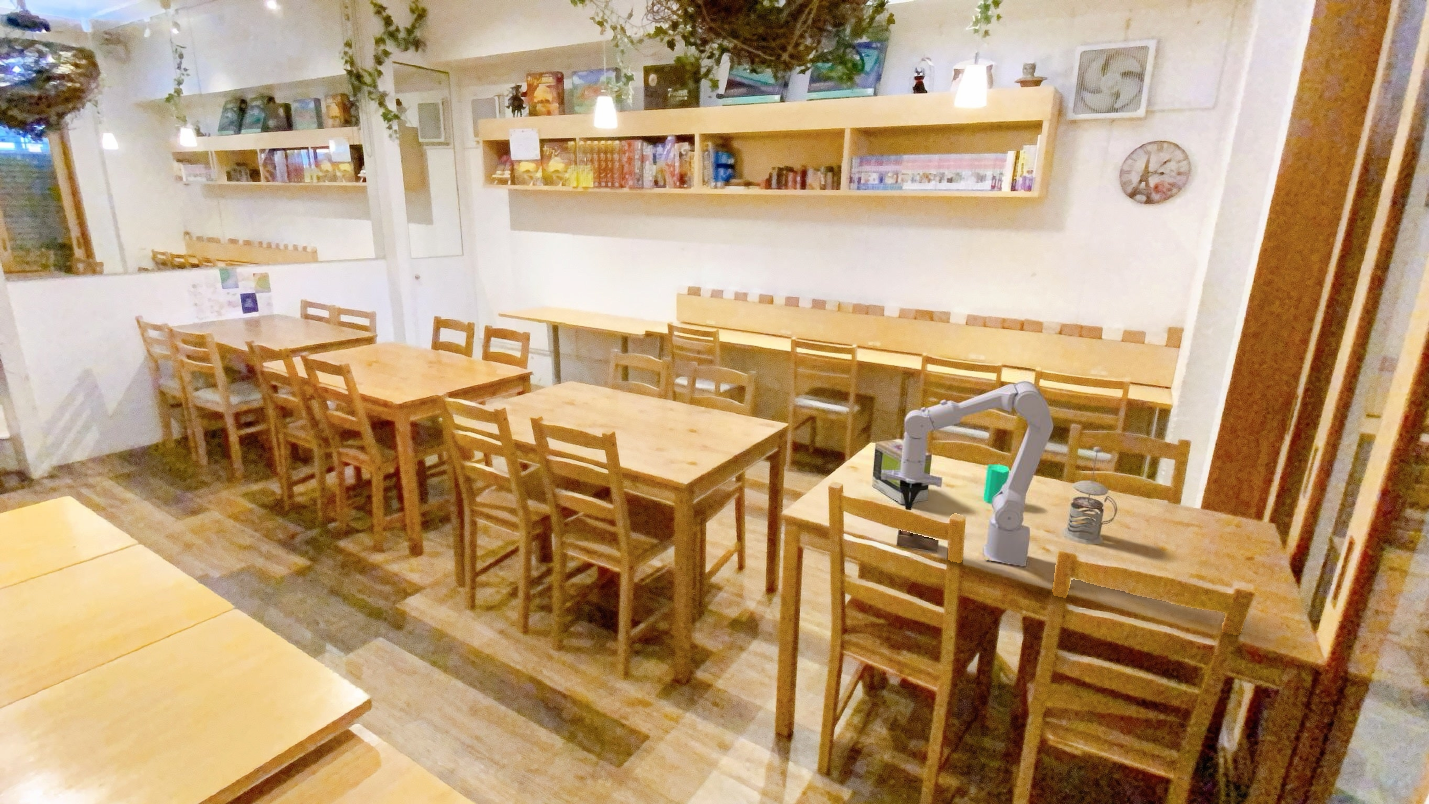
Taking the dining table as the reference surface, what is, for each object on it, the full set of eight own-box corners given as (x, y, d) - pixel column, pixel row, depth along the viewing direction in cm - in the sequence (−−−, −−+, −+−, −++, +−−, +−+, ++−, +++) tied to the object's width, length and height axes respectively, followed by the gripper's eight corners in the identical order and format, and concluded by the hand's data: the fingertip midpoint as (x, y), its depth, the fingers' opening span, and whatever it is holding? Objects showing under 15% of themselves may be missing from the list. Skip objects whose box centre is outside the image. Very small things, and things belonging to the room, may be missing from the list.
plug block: (937, 544, 178) (939, 533, 177) (937, 552, 174) (938, 541, 173) (897, 538, 181) (898, 527, 180) (896, 545, 177) (897, 535, 176)
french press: (1066, 523, 190) (1081, 437, 183) (1114, 536, 183) (1131, 447, 176) (1057, 536, 183) (1072, 447, 175) (1106, 550, 175) (1123, 458, 168)
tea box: (928, 500, 204) (933, 453, 199) (900, 505, 200) (904, 457, 196) (897, 481, 217) (901, 437, 213) (870, 486, 213) (874, 441, 209)
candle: (981, 502, 203) (986, 464, 199) (984, 494, 208) (989, 457, 204) (1003, 506, 200) (1009, 468, 197) (1005, 498, 205) (1011, 461, 202)
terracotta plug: (913, 532, 179) (915, 519, 178) (912, 538, 175) (914, 525, 174) (899, 529, 180) (900, 517, 179) (898, 535, 176) (899, 523, 175)
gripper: (882, 460, 170) (877, 510, 174) (943, 467, 166) (937, 519, 170) (884, 450, 176) (880, 499, 180) (944, 457, 172) (938, 507, 176)
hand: (908, 508), depth 175 cm, fingers closed
